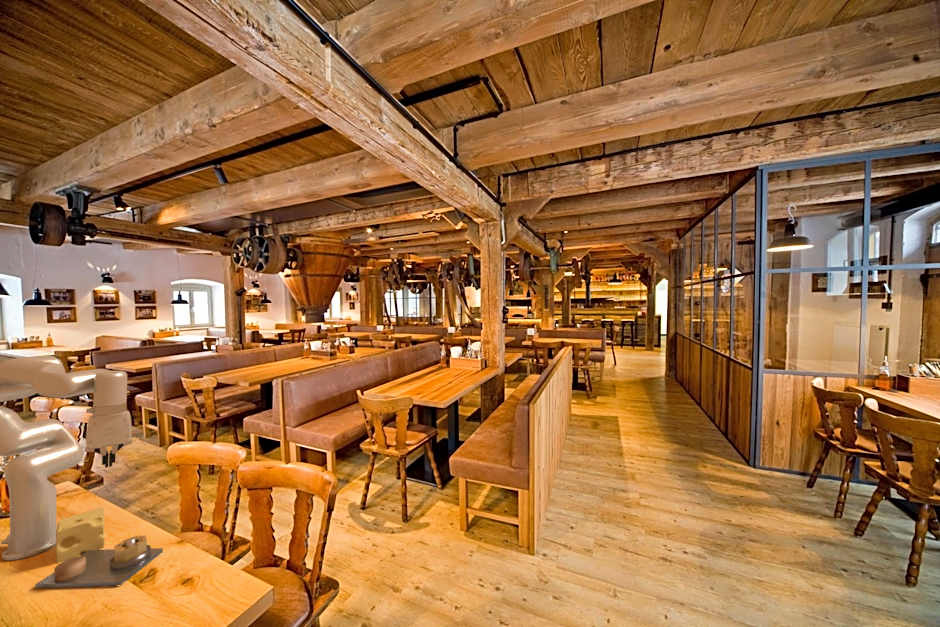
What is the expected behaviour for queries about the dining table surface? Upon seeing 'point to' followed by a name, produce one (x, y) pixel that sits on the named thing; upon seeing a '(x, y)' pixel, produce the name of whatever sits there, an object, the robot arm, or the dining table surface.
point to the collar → (130, 549)
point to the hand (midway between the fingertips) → (108, 465)
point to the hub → (132, 562)
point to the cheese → (80, 534)
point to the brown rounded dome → (70, 568)
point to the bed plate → (98, 571)
